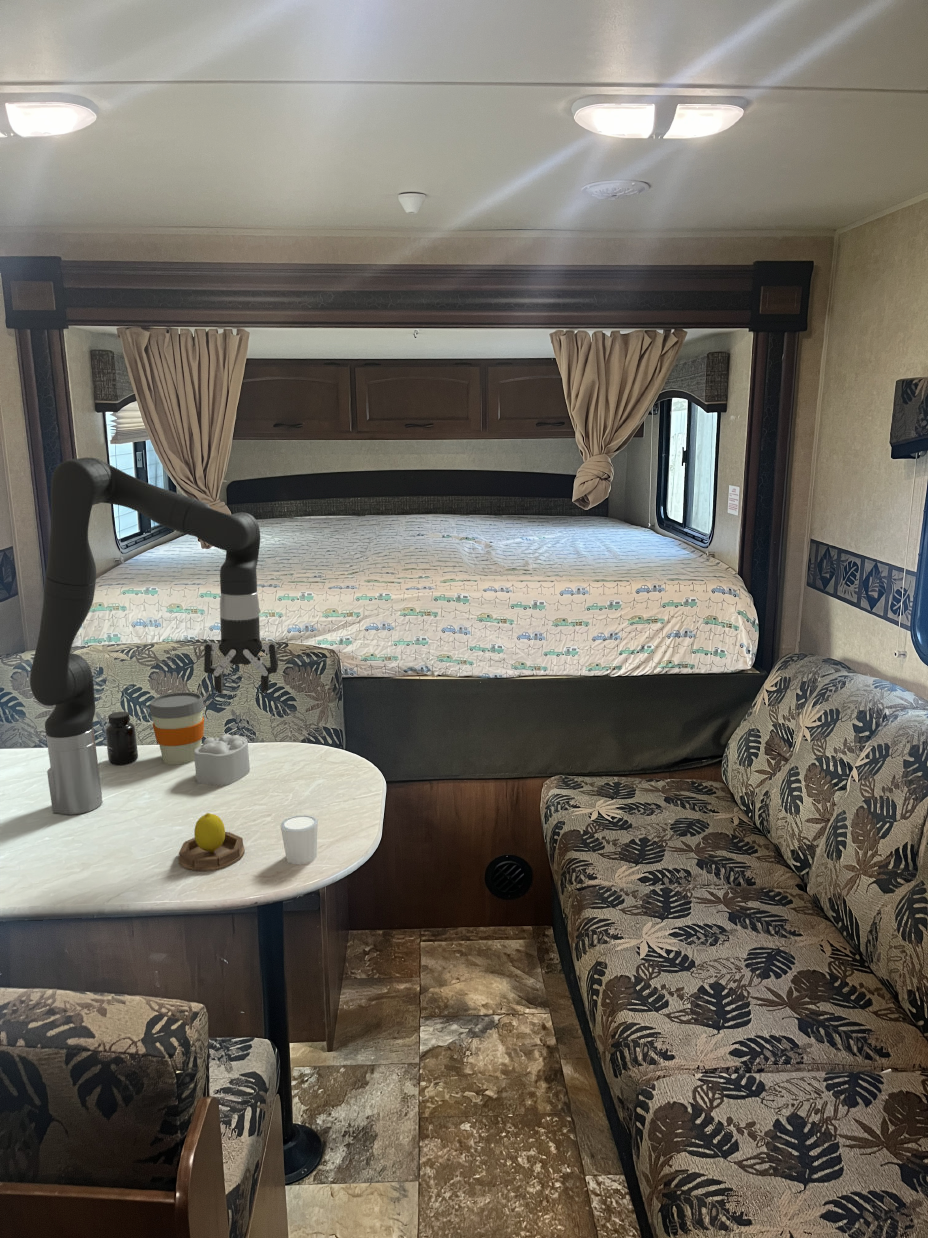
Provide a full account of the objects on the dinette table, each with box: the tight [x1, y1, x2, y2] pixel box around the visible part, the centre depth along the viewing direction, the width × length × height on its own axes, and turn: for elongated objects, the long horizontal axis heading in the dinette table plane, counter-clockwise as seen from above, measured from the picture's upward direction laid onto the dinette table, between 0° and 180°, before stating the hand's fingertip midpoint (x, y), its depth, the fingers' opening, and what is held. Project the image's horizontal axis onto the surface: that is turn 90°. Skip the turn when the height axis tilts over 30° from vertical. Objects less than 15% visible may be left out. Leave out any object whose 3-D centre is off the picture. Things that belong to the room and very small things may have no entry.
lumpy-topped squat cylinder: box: [194, 733, 251, 787], centre depth 202 cm, size 10×13×9 cm
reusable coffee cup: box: [149, 691, 205, 765], centre depth 212 cm, size 13×13×15 cm
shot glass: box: [280, 814, 319, 865], centre depth 161 cm, size 7×7×7 cm
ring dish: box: [178, 831, 246, 872], centre depth 163 cm, size 12×12×2 cm
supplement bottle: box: [104, 711, 139, 766], centre depth 211 cm, size 7×7×12 cm
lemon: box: [193, 812, 226, 853], centre depth 163 cm, size 6×6×8 cm
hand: (242, 692), depth 175 cm, fingers open, 8 cm apart
